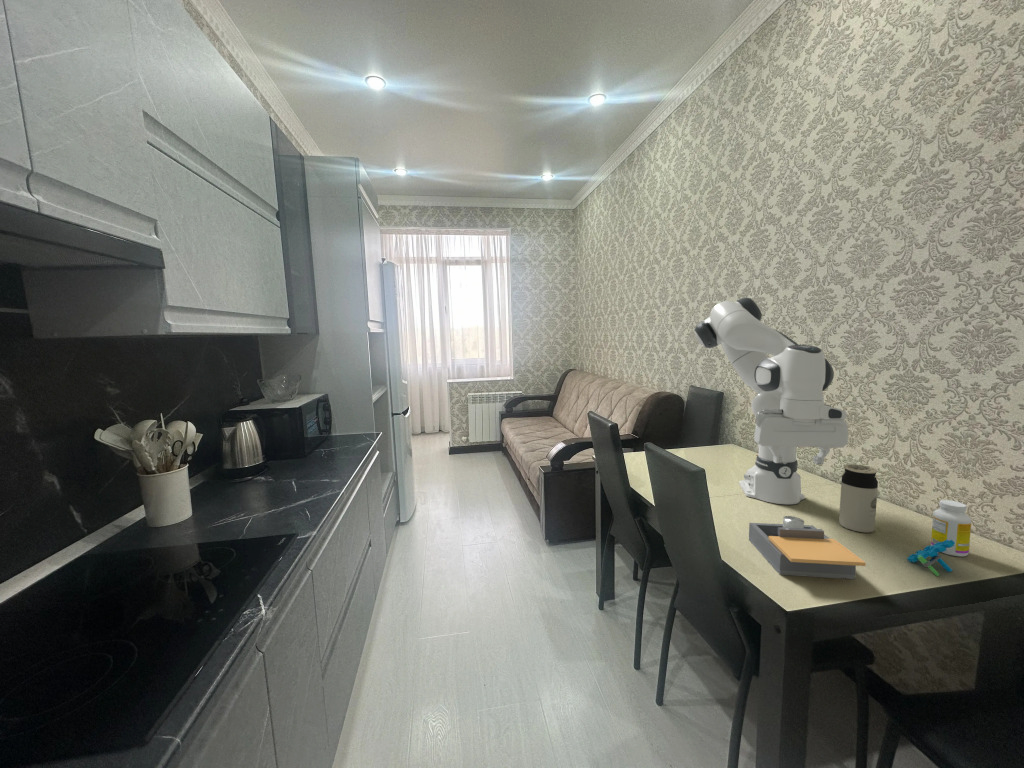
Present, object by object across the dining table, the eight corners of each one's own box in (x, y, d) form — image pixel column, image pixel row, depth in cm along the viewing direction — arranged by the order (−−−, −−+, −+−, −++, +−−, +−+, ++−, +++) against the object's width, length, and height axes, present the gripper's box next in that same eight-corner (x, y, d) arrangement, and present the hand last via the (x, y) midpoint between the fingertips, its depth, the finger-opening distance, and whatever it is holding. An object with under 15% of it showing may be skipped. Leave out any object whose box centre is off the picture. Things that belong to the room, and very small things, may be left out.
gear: (917, 546, 103) (957, 532, 95) (939, 569, 100) (982, 556, 92) (894, 562, 99) (934, 549, 91) (917, 586, 95) (960, 575, 88)
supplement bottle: (968, 551, 103) (972, 503, 102) (968, 560, 99) (973, 510, 97) (930, 542, 108) (934, 496, 107) (929, 550, 104) (933, 503, 102)
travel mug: (832, 523, 120) (835, 465, 118) (850, 519, 122) (854, 462, 120) (862, 535, 112) (866, 473, 111) (881, 530, 115) (885, 470, 113)
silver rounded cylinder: (785, 554, 101) (787, 524, 101) (773, 542, 107) (775, 514, 107) (811, 555, 101) (813, 525, 100) (798, 543, 106) (799, 515, 106)
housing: (748, 539, 111) (749, 522, 111) (811, 542, 109) (812, 525, 108) (779, 574, 95) (780, 554, 94) (854, 579, 92) (856, 558, 92)
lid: (766, 537, 102) (767, 526, 102) (831, 540, 100) (832, 529, 99) (791, 561, 90) (791, 550, 90) (865, 566, 88) (866, 554, 88)
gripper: (762, 411, 99) (759, 465, 100) (854, 412, 96) (850, 468, 97) (750, 407, 105) (748, 458, 106) (837, 407, 102) (833, 460, 103)
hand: (797, 463), depth 102 cm, fingers open, 8 cm apart
